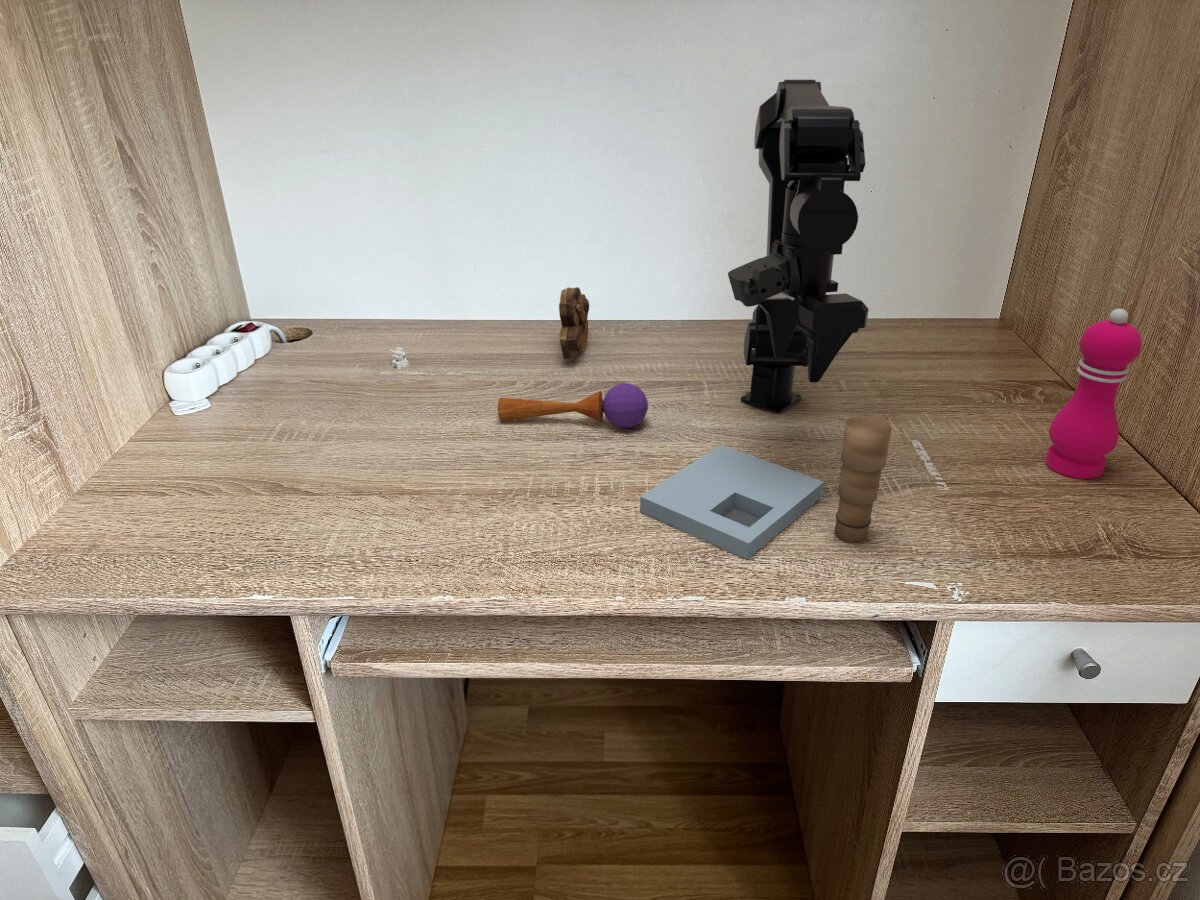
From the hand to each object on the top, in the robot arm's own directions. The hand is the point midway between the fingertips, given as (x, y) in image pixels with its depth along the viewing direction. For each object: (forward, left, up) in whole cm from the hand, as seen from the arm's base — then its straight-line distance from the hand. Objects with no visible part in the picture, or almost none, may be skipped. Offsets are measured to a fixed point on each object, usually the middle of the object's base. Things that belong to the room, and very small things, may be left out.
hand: (795, 369), depth 96 cm
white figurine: (+13, -63, -13) cm, 65 cm away
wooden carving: (-12, -46, -13) cm, 49 cm away
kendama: (+9, -28, -13) cm, 32 cm away
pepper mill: (-22, +27, -13) cm, 37 cm away
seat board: (+12, 0, -12) cm, 18 cm away
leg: (+9, +13, -13) cm, 21 cm away
